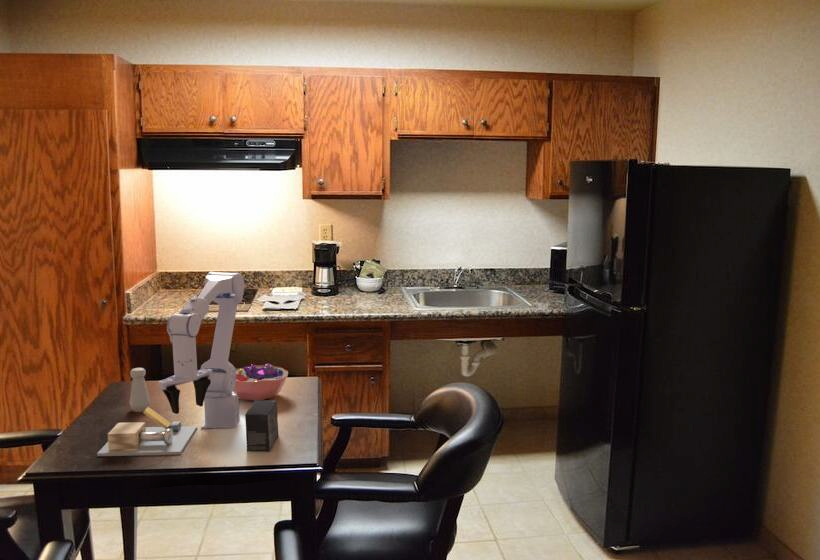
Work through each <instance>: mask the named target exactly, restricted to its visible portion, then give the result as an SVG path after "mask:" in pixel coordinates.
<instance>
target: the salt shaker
mask: <svg viewBox="0 0 820 560" xmlns="http://www.w3.org/2000/svg"><path fill="white" fill-rule="evenodd" d="M129 373H130V375H129V376H130V377H131V378H132V381H131V389H130V397H129V406H130V409H132V411H133V413H143V412H144V411H145V409H146V408H147V407H150V403H151V399H150V396H149V392H148V388H147V383H146V380H145V376H146V373H147V372H146V369H145V368H144V367H135V368H134V367H133V368H131V370H130V372H129Z"/></svg>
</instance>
